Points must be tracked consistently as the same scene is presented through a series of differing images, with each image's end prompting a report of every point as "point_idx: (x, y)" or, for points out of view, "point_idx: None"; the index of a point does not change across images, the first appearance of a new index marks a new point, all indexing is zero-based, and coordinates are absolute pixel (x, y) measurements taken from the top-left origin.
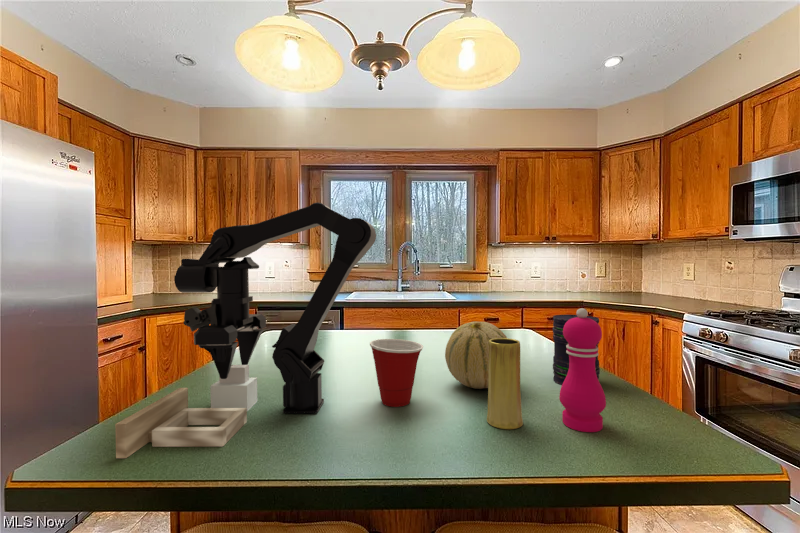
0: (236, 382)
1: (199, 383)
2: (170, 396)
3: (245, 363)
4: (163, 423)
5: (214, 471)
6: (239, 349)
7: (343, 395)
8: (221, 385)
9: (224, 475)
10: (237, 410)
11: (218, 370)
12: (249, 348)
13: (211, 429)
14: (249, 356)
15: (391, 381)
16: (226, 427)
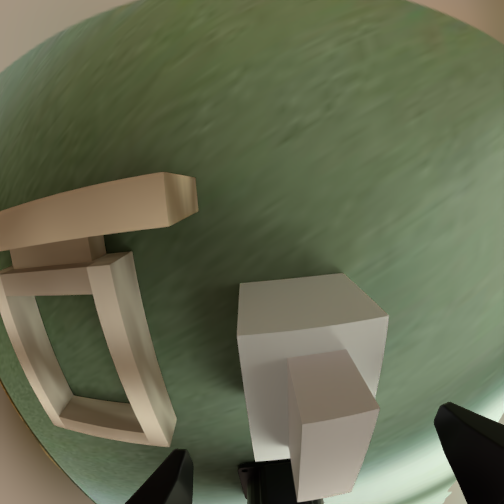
0: (289, 425)
1: (483, 85)
2: (43, 230)
3: (438, 424)
4: (14, 276)
5: (26, 408)
6: (497, 446)
7: (349, 492)
8: (246, 386)
9: (28, 419)
10: (145, 434)
11: (147, 483)
12: (472, 484)
13: (45, 406)
14: (449, 459)
15: None
16: (68, 427)
